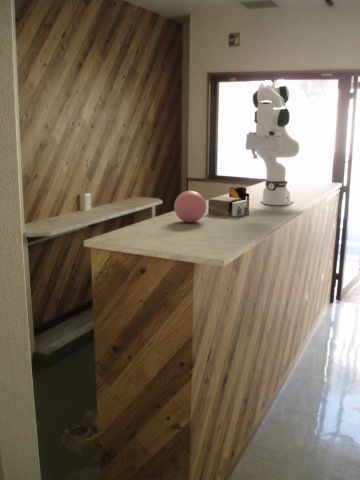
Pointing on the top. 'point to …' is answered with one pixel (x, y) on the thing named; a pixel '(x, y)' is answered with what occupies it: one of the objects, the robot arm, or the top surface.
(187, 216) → the balloon
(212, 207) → the cabinet
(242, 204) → the door
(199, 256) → the top surface
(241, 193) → the mug
